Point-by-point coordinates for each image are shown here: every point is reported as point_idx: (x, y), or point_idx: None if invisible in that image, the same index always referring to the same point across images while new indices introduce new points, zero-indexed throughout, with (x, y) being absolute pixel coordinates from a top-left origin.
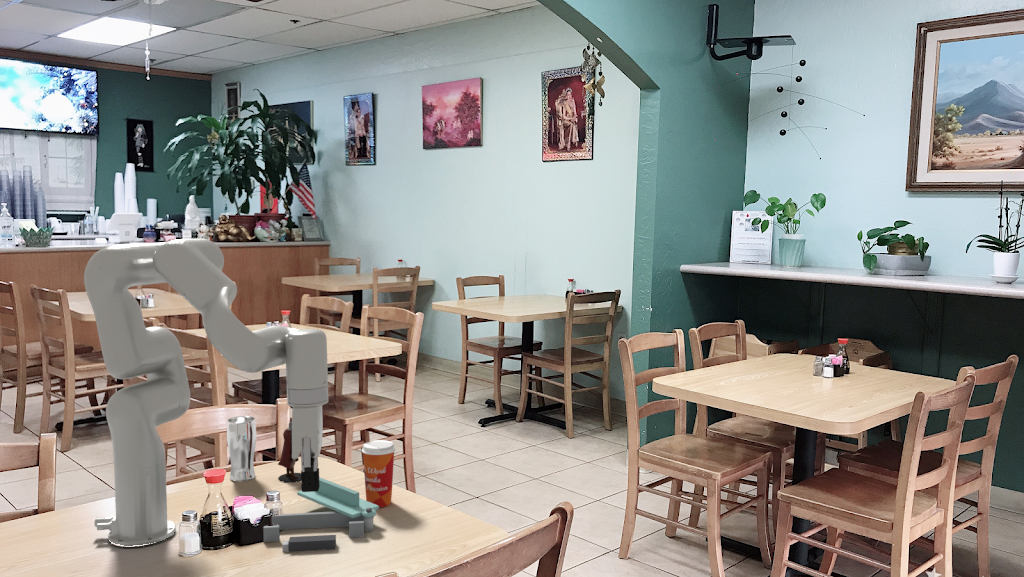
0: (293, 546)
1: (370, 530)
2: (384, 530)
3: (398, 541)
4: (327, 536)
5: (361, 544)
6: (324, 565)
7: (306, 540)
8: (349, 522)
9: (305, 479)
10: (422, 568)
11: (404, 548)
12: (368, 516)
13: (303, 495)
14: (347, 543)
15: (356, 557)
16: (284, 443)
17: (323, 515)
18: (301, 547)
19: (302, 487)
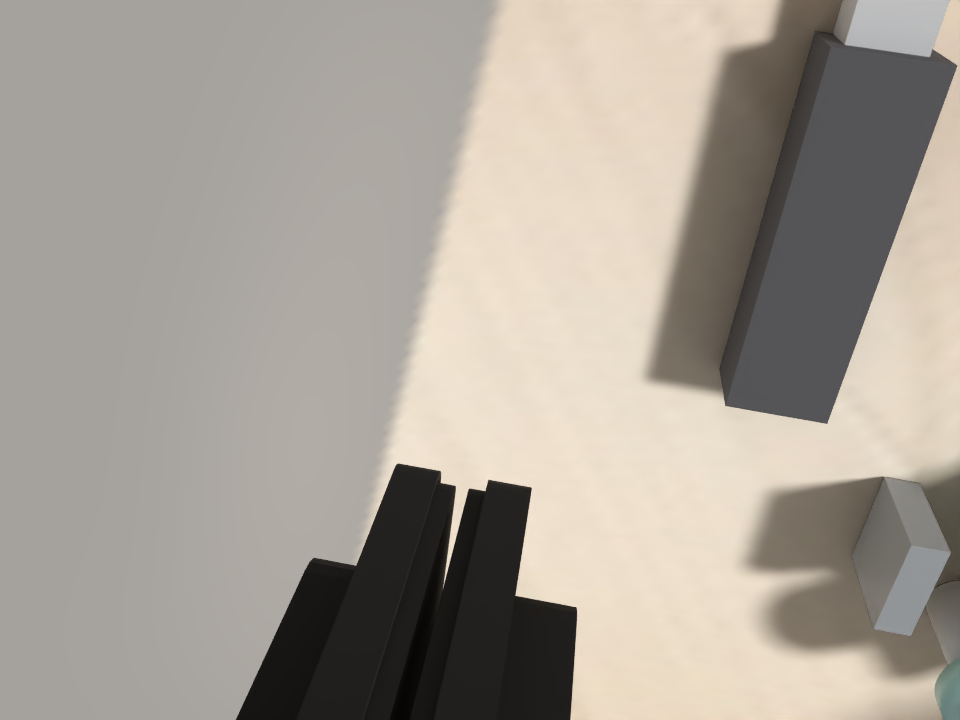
0: (810, 83)
1: (927, 609)
2: (898, 671)
3: (693, 694)
4: (817, 365)
5: (733, 523)
6: (478, 275)
7: (806, 204)
8: (933, 551)
9: (262, 662)
10: None
11: (585, 696)
12: (942, 681)
13: None
14: (788, 452)
15: (544, 466)
16: None
17: None
18: (790, 147)
19: (385, 510)
